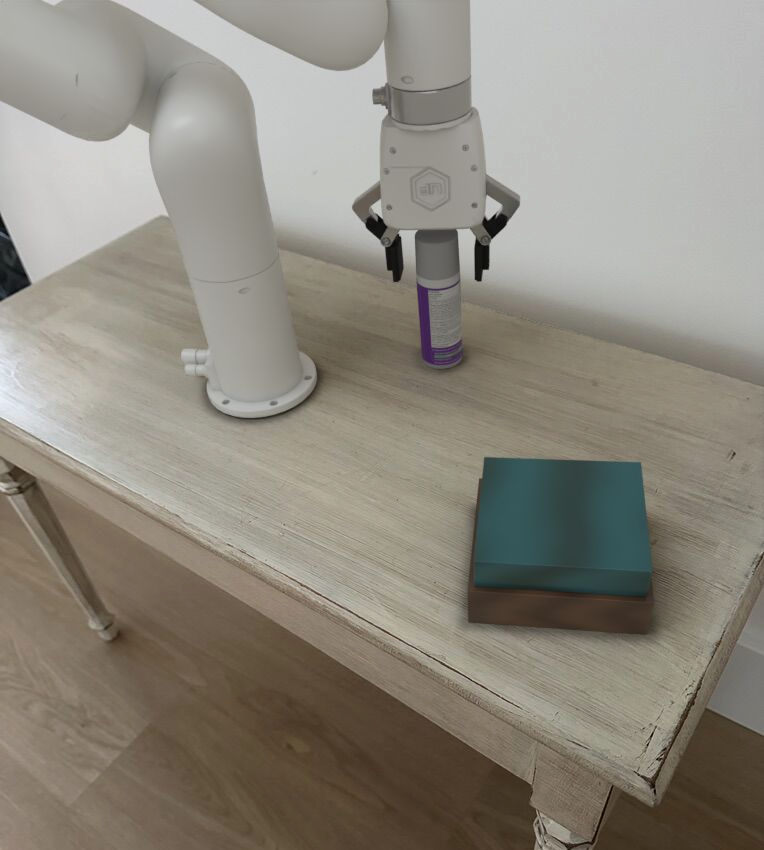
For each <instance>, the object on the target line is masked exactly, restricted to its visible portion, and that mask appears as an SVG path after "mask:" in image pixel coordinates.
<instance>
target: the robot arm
mask: <svg viewBox="0 0 764 850" xmlns="http://www.w3.org/2000/svg"><path fill="white" fill-rule="evenodd" d="M193 1H194V2H195V3H197V4H198V5H200V6H202V7H203V8H204V9H206V10H207V11H209V12H210V13H213V14H214V15H216V16H218V17H219V18H220V19H222V20H223V21H226V22H227V23H229V24H230V25H232V26H234V27H236V28H237V29H239V30H241V31H243V32H244V33H246V34H249V35H250V36H252V37H254V38H256V39H257V40H260V41H262V42H264V43H266V44H268V45H270V46H272V47H274V48H277V49H279V50H280V51H283V52H285V53H287V54H289V55H291V56H293V57H295V58H297V59H299V60H301V61H304V62H305V63H308V64H310V65H313V66H315V67H317V68H320V69H324V70H329V71H335V72H345V71H351V70H354V69H357V68H360V67H361V66H363V65H365V64H366V63H367V62H369V61H370V60H371V59H372V58H373V57H374V56H375V55H376V54H377V52H378V51H379V49H380V48H381V45H382V44H383V47H384V58H385V74H386V82H385V83H384V86H382V85H381V86H380V87H379V88H372V94H371V95H372V96H371V97H372V104H373V105H374V106H375V105H381V107H384V108H385V110H387V114H386V115H385V116H384V118H383V119H382V121H381V126H380V134H379V137H380V138H379V180H378V181H377V182H375V183H374V184H373V185H372V186H370V187H369V188H368V189H366V190H365V191H364V192H362V193H361V194H359V196H357V197H356V198H355V199H354V200H353V202H352V204H351V210H352V211H353V213H355V215H356V217H358V219H359V221H361V222H362V223H363V224H364V226H365V228H366V229H367V231H368V232H370V233H371V234H372V235H373V236H374V237H376V239H378V240H379V242H380V245H381V246H382V247H384V252H385V253H384V254H385V262H386V263H385V264H386V270H387V272H392V282H393V283H399V282H400V281H401V280H402V277H403V273H404V270H405V266H404V252H403V243H402V242H403V241H402V236H401V235H400V232H401V231H418V230H451V229H456V230H468V229H469V230H470V232H471V233H472V234H473V235H474V237H475V240H474V247H473V252H474V253H473V254H474V258H473V259H474V265H473V266H474V281H476V282H477V283H479V282H481V283H482V280H483V273H484V271H489V270H490V262H491V261H490V257H491V255H490V251H491V250H490V249H491V247H490V245H491V242H492V240H493V239H494V238H495V237H496V236H498V235H499V233H500V232H501V231H503V230H504V229H505V228H506V227H507V224H508V222H509V221H510V220H511V219H512V217H513V216H514V215H515V213H516V212H517V210H518V209H519V208H520V206H521V195H519V194H518V193H517V192H515V191H513V190H512V189H511V188H509V187H507V186H506V185H504V184H503V183H501V182H500V181H498V180H496V179H495V178H493V177H492V176H490V175H489V174H487V165H486V164H487V162H486V151H485V142H484V133H483V127H482V122H481V117H480V112H479V110H478V108H476V107H475V106H473V105H472V104H473V102H472V101H473V100H472V99H473V98H472V45H471V0H193ZM247 86H248V85H247V84H246V82H245V81H244V80H243V79H242V78H241V76H240V75H239V74H238V72H236V71H235V70H234V69H233V68H232V67H230V66H229V65H228V64H226V63H225V62H224V61H222V60H220V59H219V58H217V57H216V56H214V55H213V54H211V53H209V52H207V51H205V50H204V49H202V48H200V47H199V46H197V45H195V44H193V43H191V42H190V41H188V40H186V39H184V38H182V37H180V36H179V35H177V34H175V33H174V32H172V31H170V30H168V29H166V28H165V27H163V26H161V25H159V24H158V23H156V22H154V21H152V20H151V19H149V18H147V17H145V16H143V15H142V14H139V13H138V12H136V11H134V10H132V9H130V8H129V7H127V6H125V5H123V4H121V3H118V2H116V1H114V0H60V1H58V2H57V3H56V4H51V3H49V2H46V1H44V0H0V102H1V103H4V104H6V105H8V106H10V107H12V108H14V109H16V110H18V111H20V112H22V113H24V114H27V115H29V116H30V117H32V118H35V119H37V120H39V121H41V122H43V123H45V124H47V125H49V126H51V127H53V128H55V129H56V130H59V131H61V132H63V133H66V134H67V135H70V136H72V137H74V138H77V139H80V140H83V141H86V142H98V143H101V142H107V141H111V140H113V139H115V138H117V137H118V136H120V135H122V134H123V133H124V132H125V131H126V130H127V128H128V127H129V126H130V125H131V126H133V127H135V128H137V129H139V130H141V131H144V132H145V133H147V134H149V135H148V150H149V151H148V153H149V160H150V166H151V171H152V175H153V178H154V182H155V184H156V187H157V191H158V193H159V196H160V198H161V200H162V203H163V205H164V208H165V211H166V213H167V216H168V218H169V220H170V224H171V226H172V227H171V228H172V230H173V233H174V236H175V239H176V242H177V245H178V249H179V252H180V256H181V259H182V261H183V266H184V269H185V272H186V275H187V278H188V282H189V285H190V288H191V293H192V296H193V299H194V302H195V306H196V309H197V312H198V316H199V319H200V324H201V326H202V329H203V333H204V336H205V340H206V343H207V349H200V348H182V350H181V352H180V360H181V363H182V365H183V366H184V375H185V376H186V377H200V376H201V377H205V379H207V380H206V381H207V382H206V393H207V396H208V400H209V401H210V403H211V404H212V406H213V407H214V408H216V410H218V411H220V412H221V413H223V414H225V415H229V416H232V417H236V418H242V419H257V418H266V417H271V416H275V415H278V414H281V413H285V412H286V411H288V410H290V409H292V408H295V407H296V406H298V405H299V404H301V403H302V402H303V401H304V400H306V399H307V398H308V397H309V396H310V395H311V394H312V392H313V391H314V389H315V387H316V386H317V382H318V374H317V373H318V372H317V367H316V365H315V362H314V360H312V358H311V357H310V356H309V355H307V354H306V353H304V352H303V351H301V350H299V347H298V341H297V337H296V331H295V327H294V321H293V317H292V311H291V307H290V301H289V297H288V292H287V286H286V282H285V281H286V280H285V276H284V272H283V271H284V270H283V267H282V262H281V255H280V251H279V247H278V242H277V237H276V231H275V226H274V221H273V216H272V212H271V206H270V202H269V197H268V192H267V187H266V184H265V183H266V182H265V178H264V173H263V167H262V160H261V154H260V148H259V138H258V127H257V119H256V109H255V104H254V99H253V98H252V95H251V92H250V89H249V88H248V87H247ZM487 196H488V197H489V198H491V199H492V200H494V201H496V202H497V203H499V204H500V208H499V209H498V210H497V211H496V213H494V214H493V215H492V216H490V218H488V217H487V215H486V210H487V209H486V208H487V207H486V206H487ZM379 201H380V206H381V215H382V217H381V216H380V215H379V214H378V213H376V212H375V211H374V208H372V206H373V205H374V204H376V203H377V202H379Z"/></svg>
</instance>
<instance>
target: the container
mask: <svg viewBox="0 0 764 850" xmlns="http://www.w3.org/2000/svg"><path fill="white" fill-rule="evenodd" d="M459 245H460V244H459V232H458V229H451V230H416V232H415V234H414V255H415V276H416V277H415V278H416V279H415V280H416V292H417V307H418V321H419V336H420V337H419V338H420V350H421V360H422V362H423V364H424V365H425V366H427V367H429V368H431V369H435V370H436V369H437V370H444V369H445V370H446V369H449V368H453V367H455V366H457V365H458V364H460V363H461V361H463V360H462V359H463V329H462V328H463V327H462V326H463V323H462V284H461V264H460V262H461V261H460V247H459Z"/></svg>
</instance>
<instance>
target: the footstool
mask: <svg viewBox="0 0 764 850" xmlns="http://www.w3.org/2000/svg"><path fill="white" fill-rule="evenodd" d="M645 496H646V495H645V487H644V477H643V468H642V462H640V461H615V460H589V459H588V460H585V459H583V460H582V459H554V458H527V457H526V458H525V457H495V456H493V457H491V456H484V458H483V466H482V475H481V478H480V477H479V478H478V484H477V495H476V503H475V514H474V522H473V532H472V542H471V551H470V561H469V569H468V570H469V571H468V578H467V579H468V581H467V588H466V589H467V590H466V594H467V595H466V597H467V600H466V601H467V622H468V623H477V624H490V625H491V624H492V625H507V626H517V627H518V626H520V627H521V626H522V627H534V628H535V627H536V628H547V629H560V630H561V629H564V630H575V631H577V630H578V631H590V632H591V631H592V632H593V631H594V632H604V633H605V632H607V633H621V634H622V633H623V634H633V635H648V630H649V627H650V622H651V618H652V614H653V610H654V605H655V597H654V587H653V578H652V577H653V561H652V551H651V543H650V534H649V525H648V514H647V506H646V505H647V503H646V497H645Z"/></svg>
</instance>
